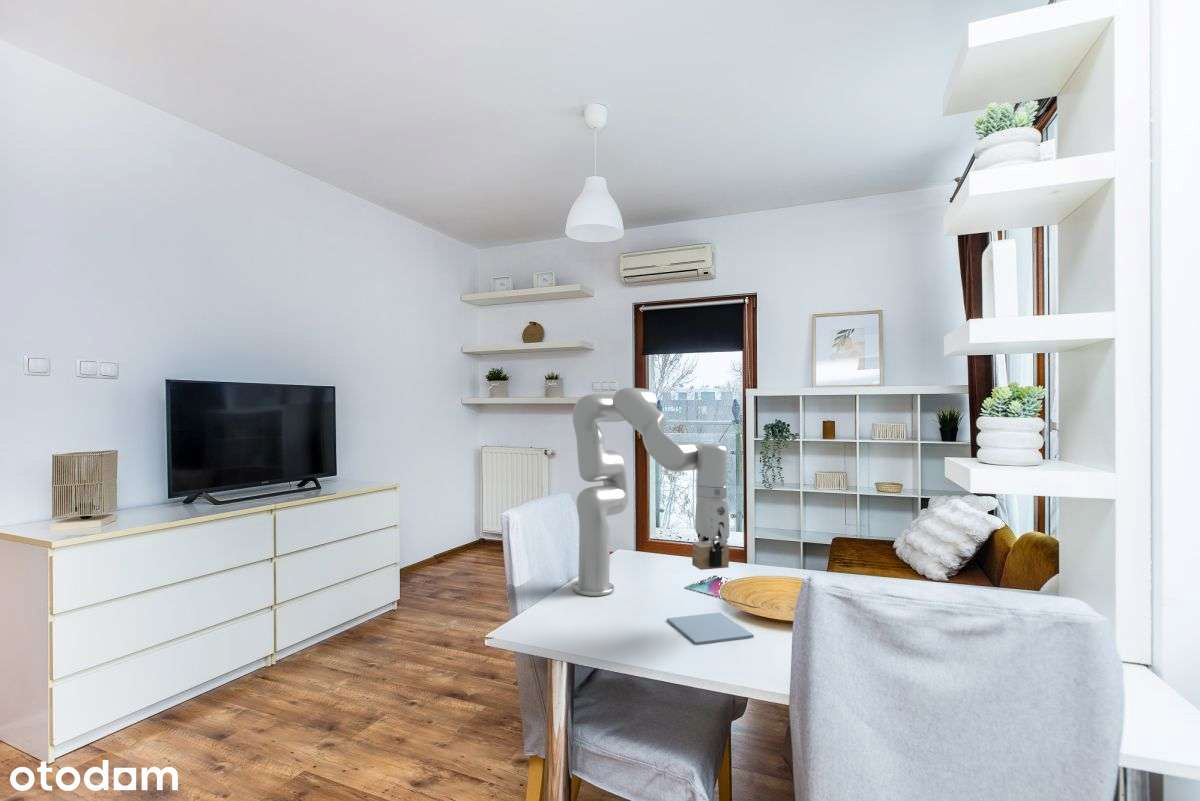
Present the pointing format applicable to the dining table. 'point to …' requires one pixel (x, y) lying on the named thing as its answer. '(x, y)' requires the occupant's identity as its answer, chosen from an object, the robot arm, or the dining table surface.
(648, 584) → the dining table surface
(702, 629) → the mat
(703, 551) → the block
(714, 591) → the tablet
